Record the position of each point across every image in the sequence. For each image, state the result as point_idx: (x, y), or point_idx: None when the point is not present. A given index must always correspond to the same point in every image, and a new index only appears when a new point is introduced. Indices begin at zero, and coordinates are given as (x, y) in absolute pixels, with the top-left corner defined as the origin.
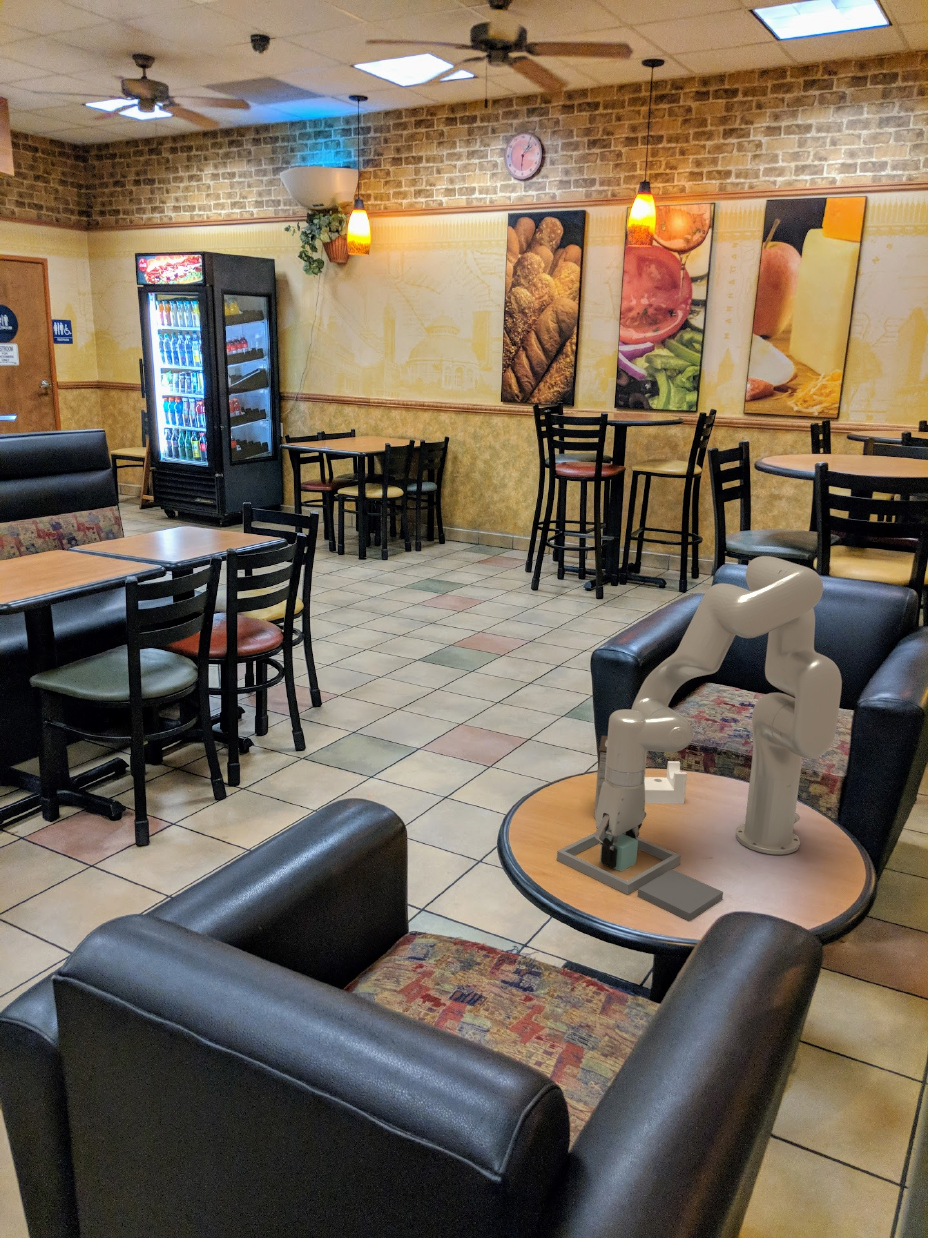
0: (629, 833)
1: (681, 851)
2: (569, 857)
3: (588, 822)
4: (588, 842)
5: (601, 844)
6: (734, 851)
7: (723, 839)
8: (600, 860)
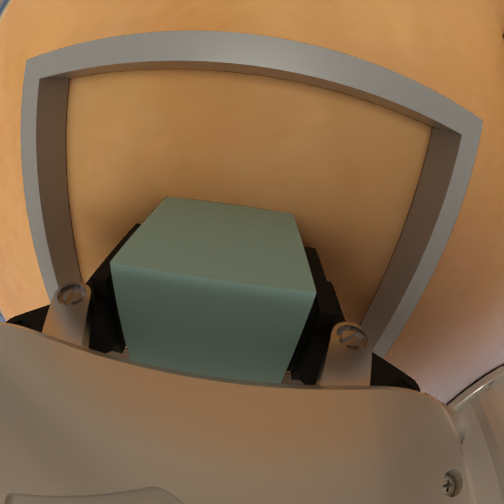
0: (310, 369)
1: (417, 356)
2: (22, 133)
3: (472, 12)
4: (248, 68)
5: (61, 295)
6: (438, 398)
7: (479, 367)
8: (163, 201)
